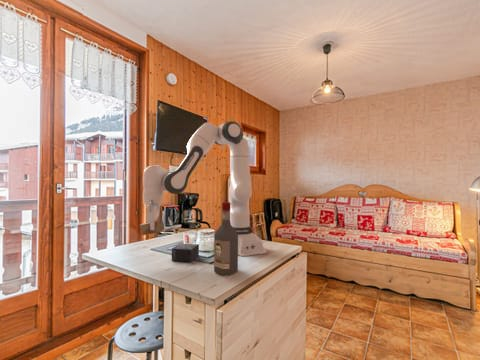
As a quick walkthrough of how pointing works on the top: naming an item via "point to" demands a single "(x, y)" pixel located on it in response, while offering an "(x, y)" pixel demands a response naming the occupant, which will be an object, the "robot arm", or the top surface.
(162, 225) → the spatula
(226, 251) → the liquor
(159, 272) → the top surface
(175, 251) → the small box
